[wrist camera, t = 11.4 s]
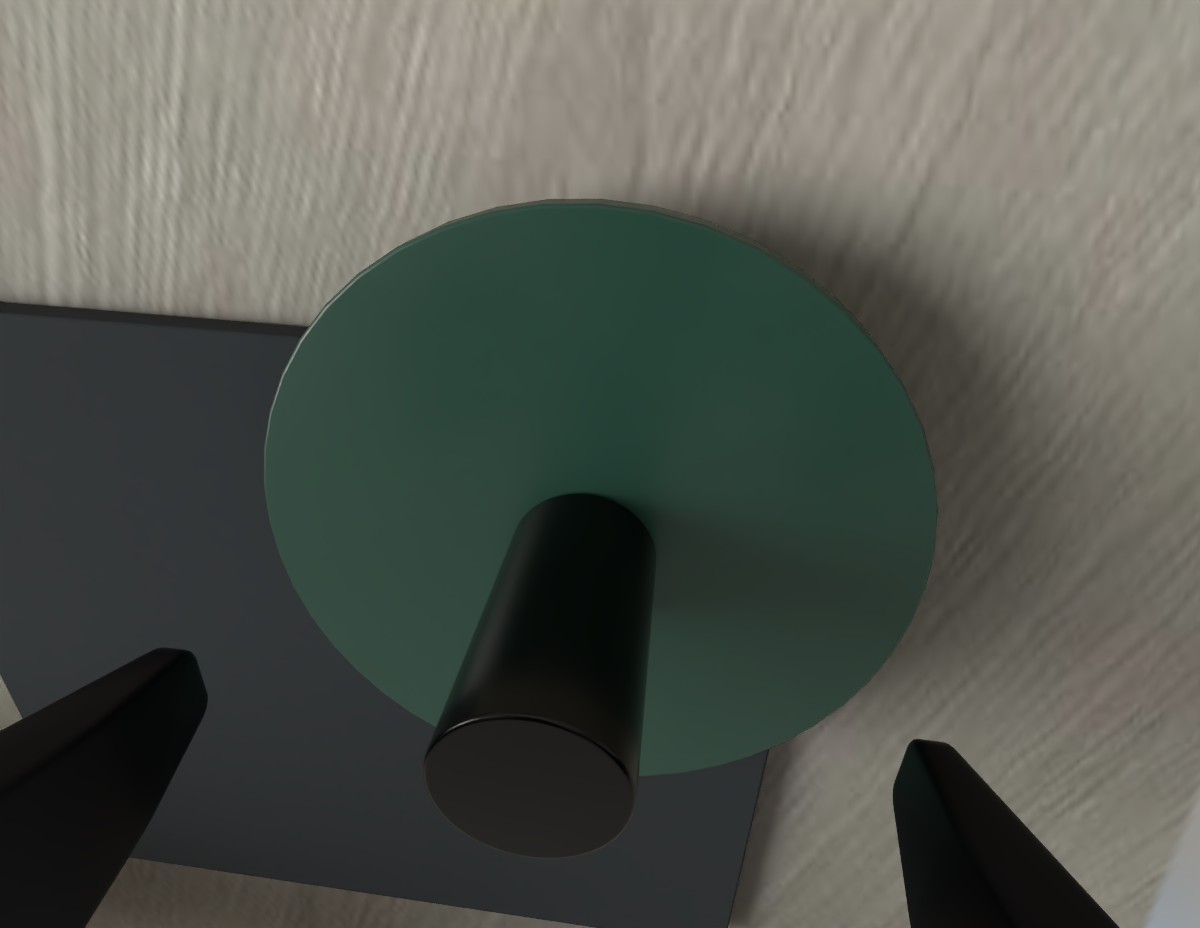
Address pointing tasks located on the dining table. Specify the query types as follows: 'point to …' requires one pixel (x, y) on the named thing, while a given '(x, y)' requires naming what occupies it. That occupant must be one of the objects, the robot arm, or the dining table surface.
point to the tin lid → (596, 505)
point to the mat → (268, 641)
